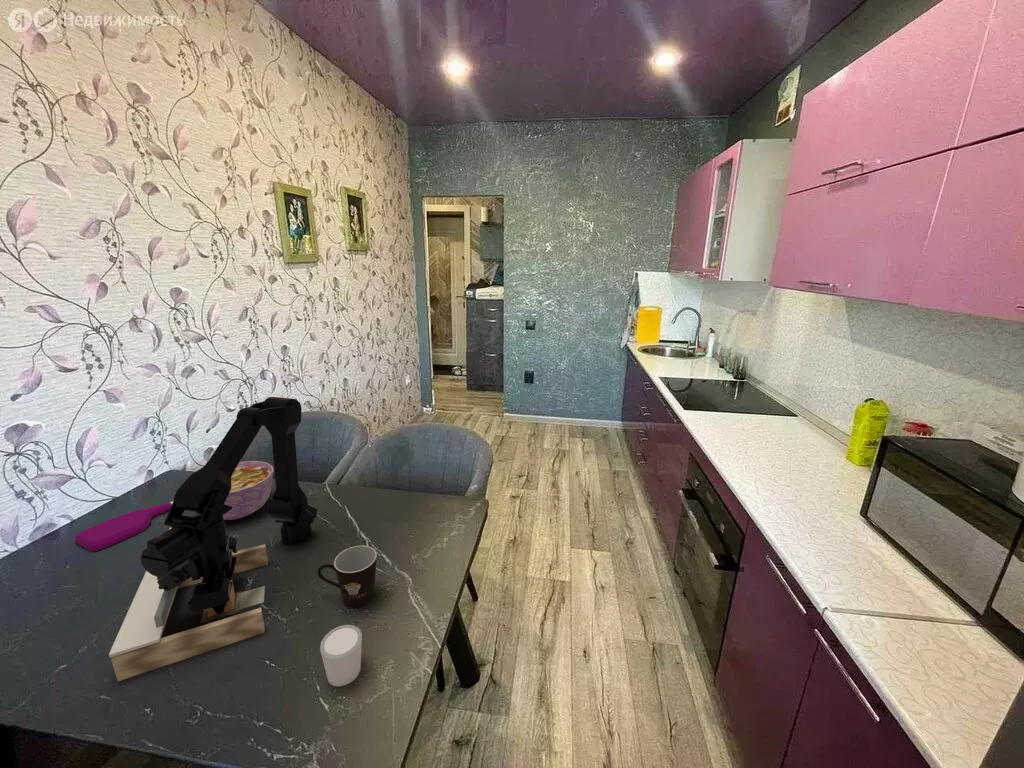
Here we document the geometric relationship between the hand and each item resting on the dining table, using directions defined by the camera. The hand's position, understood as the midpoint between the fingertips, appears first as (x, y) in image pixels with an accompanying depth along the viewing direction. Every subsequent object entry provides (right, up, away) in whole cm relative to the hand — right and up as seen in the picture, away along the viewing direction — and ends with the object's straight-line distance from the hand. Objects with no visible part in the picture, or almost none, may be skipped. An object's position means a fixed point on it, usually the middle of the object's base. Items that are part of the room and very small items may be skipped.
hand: (221, 604), depth 84 cm
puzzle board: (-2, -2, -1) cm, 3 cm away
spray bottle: (-42, +7, +28) cm, 51 cm away
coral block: (0, 0, 0) cm, 0 cm away
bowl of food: (-19, +8, +34) cm, 40 cm away
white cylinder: (+31, -6, -12) cm, 33 cm away
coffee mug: (+25, -1, +5) cm, 26 cm away
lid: (-9, +4, -6) cm, 11 cm away
